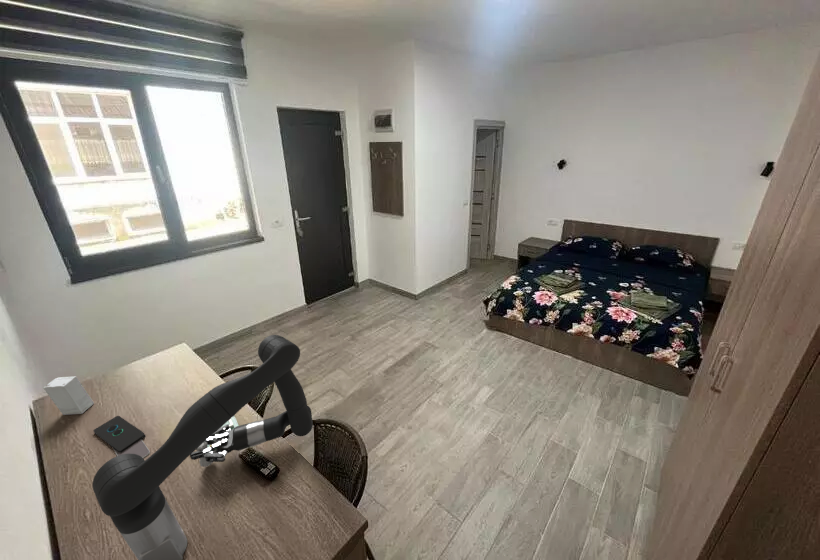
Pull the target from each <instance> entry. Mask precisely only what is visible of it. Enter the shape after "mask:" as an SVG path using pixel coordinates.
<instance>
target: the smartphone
mask: <svg viewBox="0 0 820 560" xmlns="http://www.w3.org/2000/svg"><path fill="white" fill-rule="evenodd" d="M113 452H114V453H115V455H116V456H119V455H122V454H137V455H139V456H141V457H142V458H143V459H144V458H146V457H148V456H149V455H150V454H151V451H150V449H149V448H148V446H147V445H146V444H145V442H144V441H143V439H141V440H139V441H138V442H136V443H135V444H133V445H132V446H130V447H129V448H128V449H126V450H125V451H123V452H121V453H120V452H118V451H117V450H115V449H113Z"/></svg>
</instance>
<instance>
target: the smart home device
mask: <svg viewBox="0 0 820 560" xmlns="http://www.w3.org/2000/svg"><path fill="white" fill-rule="evenodd" d="M93 432H94V435H96V436H97V437H98V438H100V440H102V441H104V442H105V444H107V445H108V446H110V447H111V448H112V449H113V450H114V449H115V450H117V451H118V452H120V453H121V452H123V451H125V450H126V449H128V448H129V447H130V446H132V445H133V444H135V443H136V442H138V441H139V440H141V439H142V440H143V439H145V438H146V434H145V432H143V431H142V430H140V429H139V428H137V427H136V426H135V425H133V424H131V422H129V421H127V420H126V419H124V418H123V417H121V416H120V415H116V416H114V417H112V418H111V419H110V420H108V421H106V422H104V423H103V424H101V425H99V426H98V427H96V428H94V429H93Z"/></svg>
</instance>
